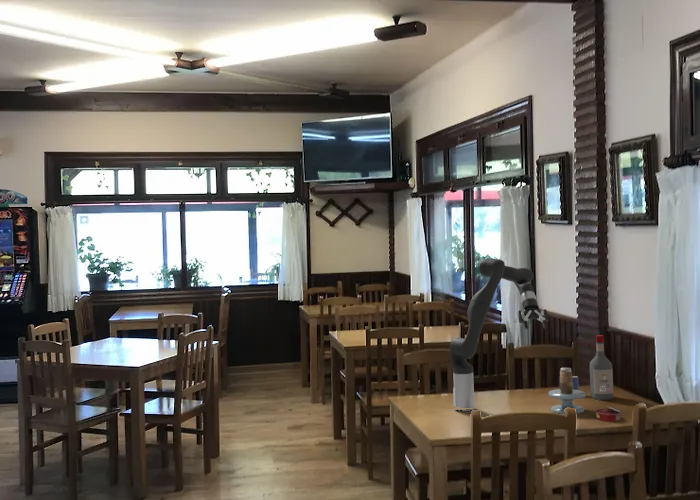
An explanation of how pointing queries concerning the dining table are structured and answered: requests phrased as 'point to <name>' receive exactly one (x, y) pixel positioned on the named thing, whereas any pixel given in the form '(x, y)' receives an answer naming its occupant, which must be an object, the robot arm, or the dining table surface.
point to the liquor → (601, 373)
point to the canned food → (608, 414)
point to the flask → (573, 383)
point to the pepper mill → (566, 381)
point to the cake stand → (567, 400)
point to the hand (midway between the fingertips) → (536, 328)
